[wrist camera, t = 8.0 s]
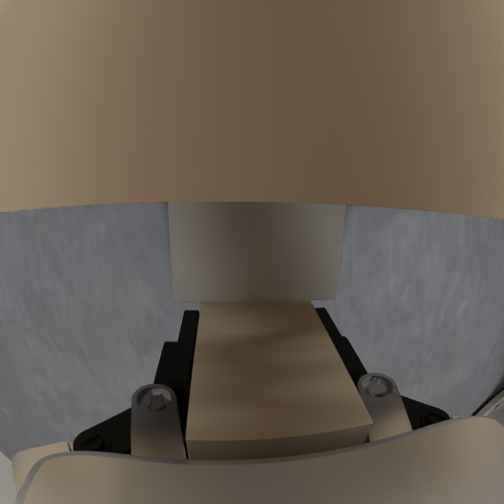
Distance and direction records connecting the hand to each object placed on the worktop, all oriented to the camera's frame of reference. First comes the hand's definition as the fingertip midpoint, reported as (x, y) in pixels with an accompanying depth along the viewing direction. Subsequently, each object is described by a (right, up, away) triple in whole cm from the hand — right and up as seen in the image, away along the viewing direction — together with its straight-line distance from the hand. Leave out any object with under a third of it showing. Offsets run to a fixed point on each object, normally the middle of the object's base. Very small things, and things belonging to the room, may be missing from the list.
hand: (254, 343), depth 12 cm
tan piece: (0, +10, -1) cm, 10 cm away
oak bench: (0, +13, -2) cm, 13 cm away
